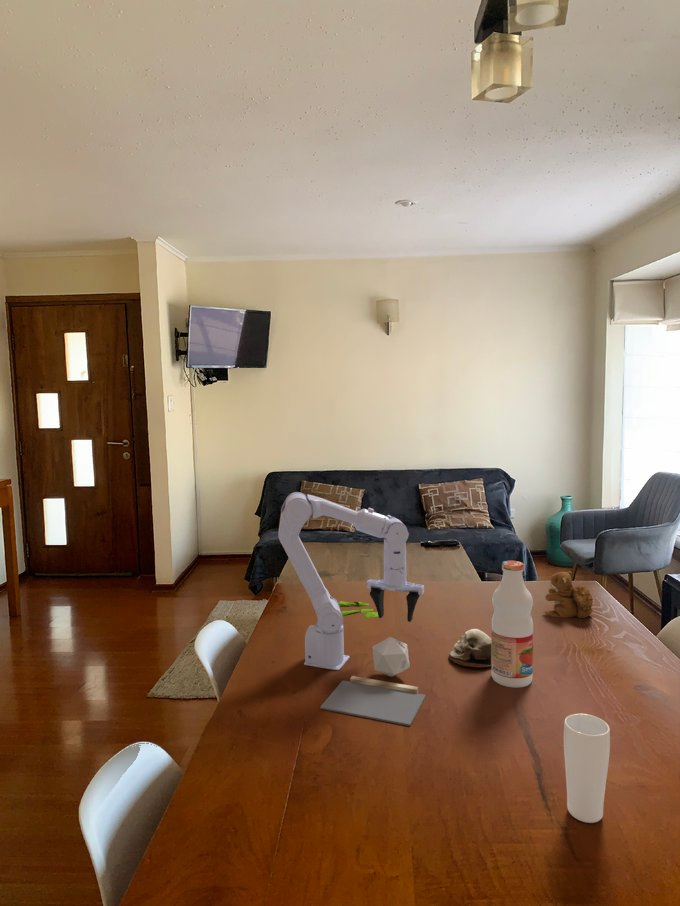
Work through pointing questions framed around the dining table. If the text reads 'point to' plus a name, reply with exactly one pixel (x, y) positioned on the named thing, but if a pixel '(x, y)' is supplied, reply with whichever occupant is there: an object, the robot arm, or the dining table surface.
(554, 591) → the stuffed squirrel
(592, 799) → the drinking glass
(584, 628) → the dining table surface
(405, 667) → the die
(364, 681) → the stop bar
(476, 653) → the skull
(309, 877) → the dining table surface
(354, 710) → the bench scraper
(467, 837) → the dining table surface
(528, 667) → the fruit juice
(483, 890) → the dining table surface
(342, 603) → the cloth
